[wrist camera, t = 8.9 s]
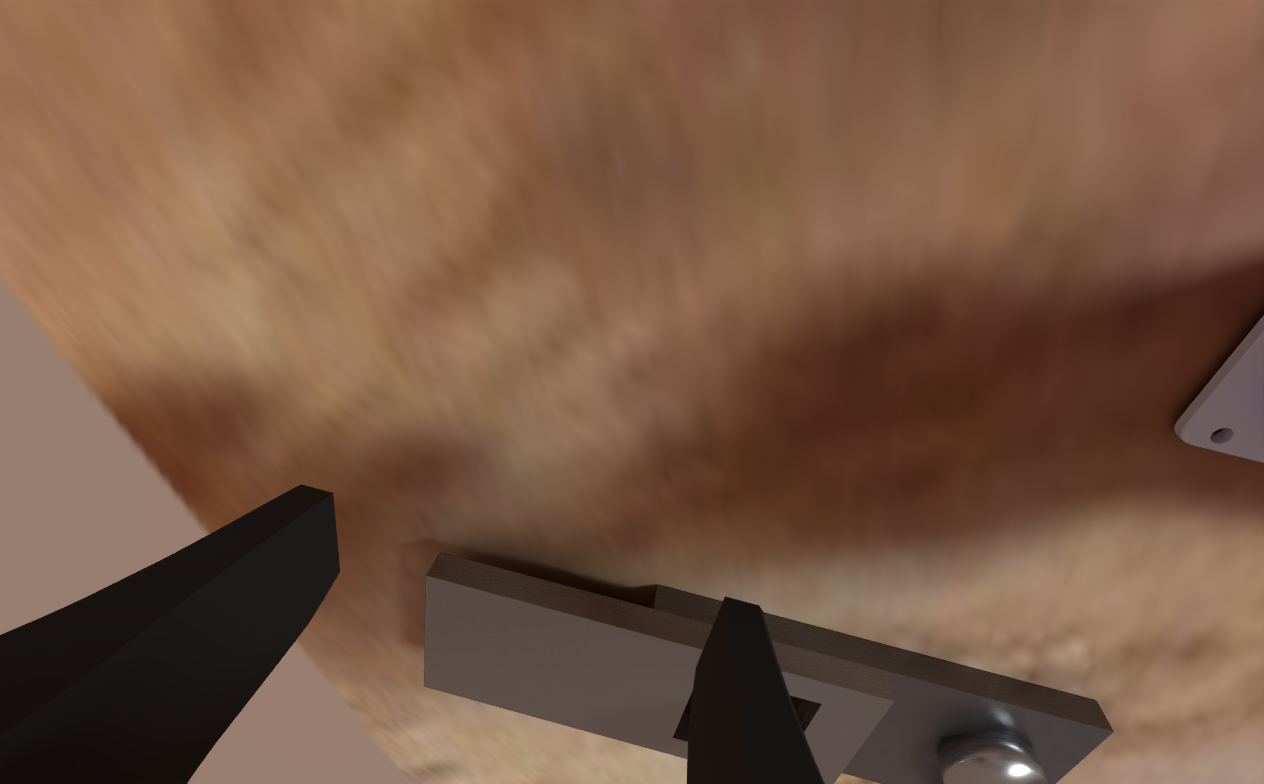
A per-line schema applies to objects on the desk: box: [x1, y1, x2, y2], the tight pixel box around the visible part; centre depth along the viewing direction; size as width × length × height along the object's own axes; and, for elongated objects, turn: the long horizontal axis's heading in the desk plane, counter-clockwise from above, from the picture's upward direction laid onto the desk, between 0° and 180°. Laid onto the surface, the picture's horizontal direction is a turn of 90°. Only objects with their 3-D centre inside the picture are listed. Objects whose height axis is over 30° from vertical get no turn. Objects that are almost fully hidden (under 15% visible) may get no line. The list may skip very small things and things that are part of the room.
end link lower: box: [651, 585, 1114, 784], centre depth 24 cm, size 18×7×2 cm, turn 79°
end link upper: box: [424, 552, 894, 784], centre depth 24 cm, size 18×7×2 cm, turn 79°
